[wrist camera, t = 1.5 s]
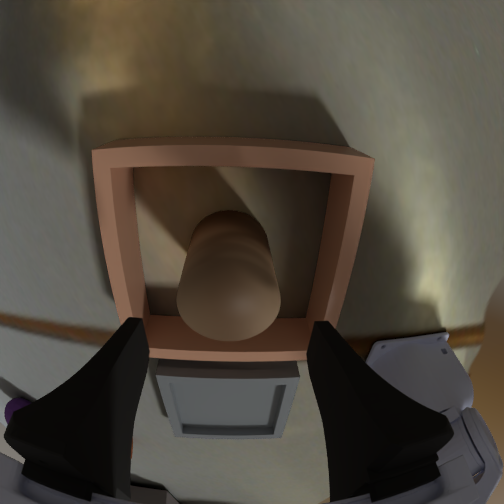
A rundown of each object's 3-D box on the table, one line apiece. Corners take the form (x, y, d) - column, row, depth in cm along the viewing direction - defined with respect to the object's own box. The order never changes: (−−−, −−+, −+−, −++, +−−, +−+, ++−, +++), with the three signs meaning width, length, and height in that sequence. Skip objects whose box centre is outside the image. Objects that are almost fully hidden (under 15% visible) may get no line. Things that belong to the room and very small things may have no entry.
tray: (296, 359, 25) (299, 377, 23) (279, 423, 31) (281, 437, 29) (159, 357, 24) (155, 375, 22) (176, 422, 30) (174, 436, 28)
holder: (350, 147, 17) (375, 158, 14) (315, 326, 23) (325, 358, 20) (116, 139, 16) (91, 149, 12) (140, 323, 22) (130, 355, 19)
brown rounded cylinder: (271, 211, 18) (286, 260, 13) (264, 279, 21) (275, 341, 16) (189, 209, 18) (172, 257, 13) (192, 278, 20) (181, 339, 15)
